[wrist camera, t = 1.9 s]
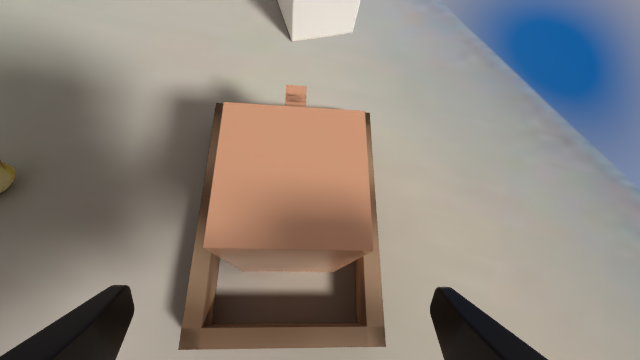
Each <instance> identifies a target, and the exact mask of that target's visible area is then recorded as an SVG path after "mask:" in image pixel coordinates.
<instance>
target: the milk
mask: <svg viewBox="0 0 640 360" xmlns="http://www.w3.org/2000/svg"><path fill="white" fill-rule="evenodd" d="M277 1H278V4H279V7H280V9H281V12H282V15H283V18H284V21H285V24H286V26H287V29H288V32H289V35H290V38H291V41H300V40H307V39H314V38H320V37H327V36H334V35H341V34H347V33H352V32H353V28H354V24H355V20H356V17H357V13H358V9H359V5H360V1H361V0H277Z"/></svg>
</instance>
